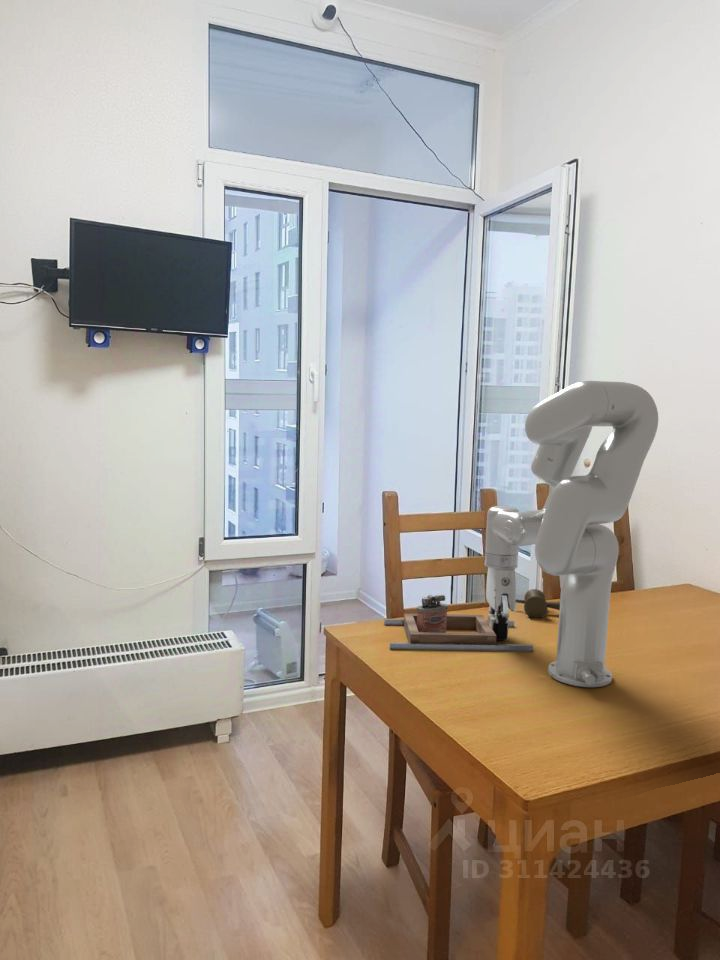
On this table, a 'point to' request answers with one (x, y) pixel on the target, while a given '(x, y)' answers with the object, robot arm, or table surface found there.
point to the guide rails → (456, 645)
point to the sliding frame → (454, 621)
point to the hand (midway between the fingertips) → (497, 635)
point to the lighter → (432, 614)
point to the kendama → (537, 604)
